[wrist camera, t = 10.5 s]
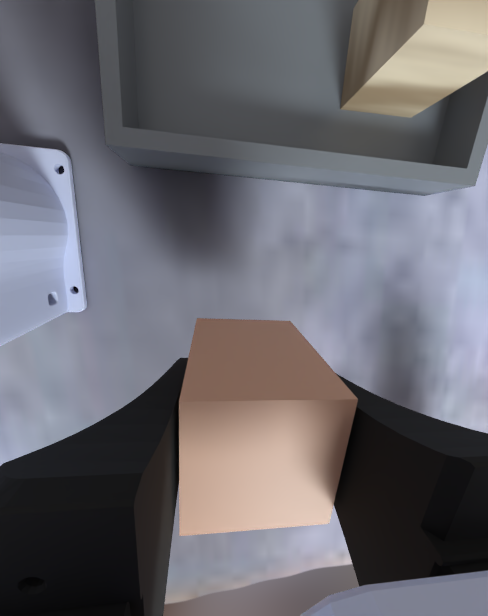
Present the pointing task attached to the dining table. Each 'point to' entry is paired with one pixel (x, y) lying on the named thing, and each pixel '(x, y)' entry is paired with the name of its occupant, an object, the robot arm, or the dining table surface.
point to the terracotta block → (259, 429)
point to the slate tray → (270, 99)
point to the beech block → (412, 53)
